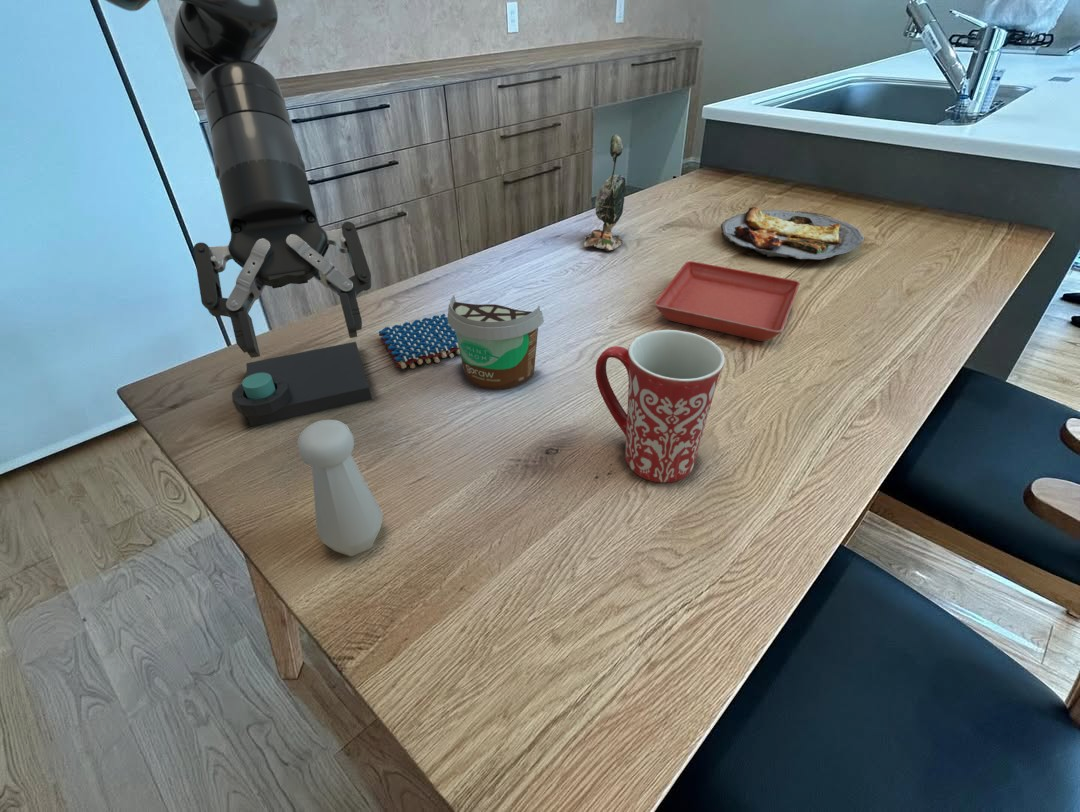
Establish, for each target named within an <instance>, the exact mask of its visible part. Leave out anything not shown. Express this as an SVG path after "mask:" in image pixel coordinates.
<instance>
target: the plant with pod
mask: <svg viewBox="0 0 1080 812" xmlns="http://www.w3.org/2000/svg"><path fill="white" fill-rule="evenodd" d="M609 143H610V146H609V147H610V149H609V154H610V156H611V158H612V161H613V169H612V175H610V176H609V177H608V178H607V179H606V180H605V181H604V183H603V184H602V185H601V187H600V188H599V189H598V192H597V194H596V196H595V204H594V208H595V216H596V217H597V219H598V220H600V221H602V222H603V225H602V230H601V229H593V231H592V232H591V233H588V234H587V236H585V237H583V248H589V247H594V248H598V249H600V250H601V249H602V250H605V251H606V252H611V251H614V250H616V249H617V248H619V246H622V245H623V243H624V242H623V239H621V236H620V235H619V234H618V235H616V234H615V235H613V234H612V233H613V232H612V230H613V228H614V227H615V226H616V225H617V223H618V222H619V220H620V219H621V216H622V215H623V212H624V204H625V196H626V192H627V188H626V187H627V186H626V184H627V183H626V177H625V176H623V175H621V174H615V170H616V164H617V158H619V157H620V156H621V155H622V153H623V150H624V146H623V145H624V144H623V140H622V137H620V136H619V135H618V133H616V134H614V135H612V136H611V139H610V142H609ZM625 175H626V176H628V174H627V173H626V174H625Z"/></svg>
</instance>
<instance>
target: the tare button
mask: <svg viewBox="0 0 1080 812" xmlns="http://www.w3.org/2000/svg"><path fill="white" fill-rule="evenodd" d="M241 384H242V386H243V388H244V391H245V393H246V396H247V398H249V399H254V400H257V399H262V398H266V397H268V396H270V395H272V394H273V393H274V392H275V386H274V383H273V380H272V377H271V375H270V374H268V373H256V374H252V375H250V376H248V377H247V376H246V377H244V379H243V380H242V382H241Z"/></svg>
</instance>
